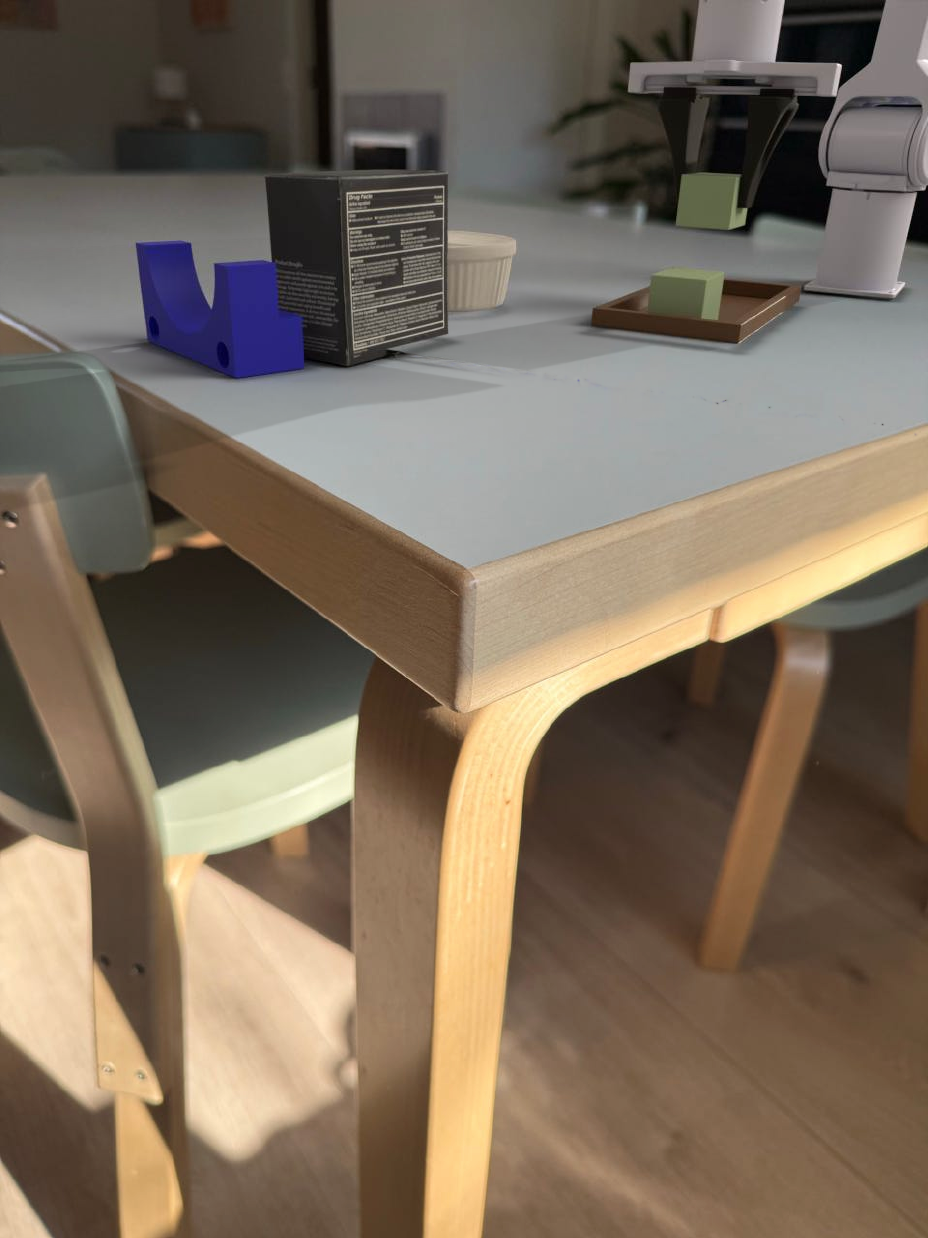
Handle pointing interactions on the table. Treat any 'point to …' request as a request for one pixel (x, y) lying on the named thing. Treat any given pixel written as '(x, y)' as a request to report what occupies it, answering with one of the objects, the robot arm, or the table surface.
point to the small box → (361, 258)
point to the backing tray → (737, 319)
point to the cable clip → (218, 312)
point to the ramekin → (477, 269)
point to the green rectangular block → (686, 293)
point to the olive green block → (710, 201)
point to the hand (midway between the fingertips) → (713, 205)
